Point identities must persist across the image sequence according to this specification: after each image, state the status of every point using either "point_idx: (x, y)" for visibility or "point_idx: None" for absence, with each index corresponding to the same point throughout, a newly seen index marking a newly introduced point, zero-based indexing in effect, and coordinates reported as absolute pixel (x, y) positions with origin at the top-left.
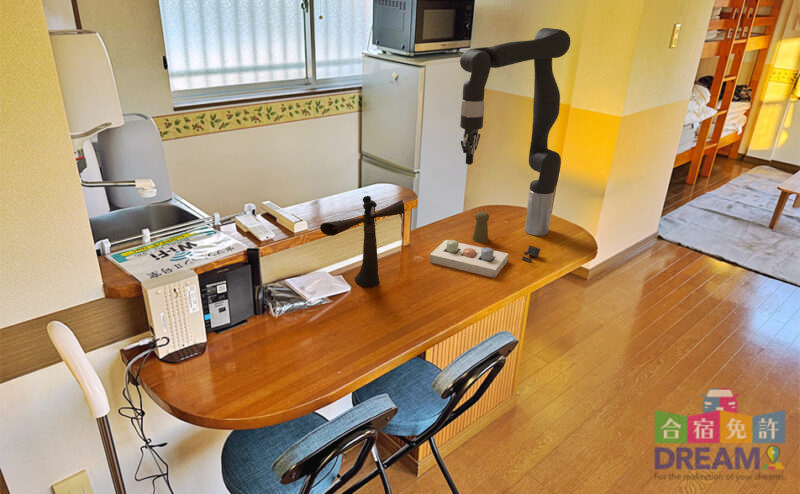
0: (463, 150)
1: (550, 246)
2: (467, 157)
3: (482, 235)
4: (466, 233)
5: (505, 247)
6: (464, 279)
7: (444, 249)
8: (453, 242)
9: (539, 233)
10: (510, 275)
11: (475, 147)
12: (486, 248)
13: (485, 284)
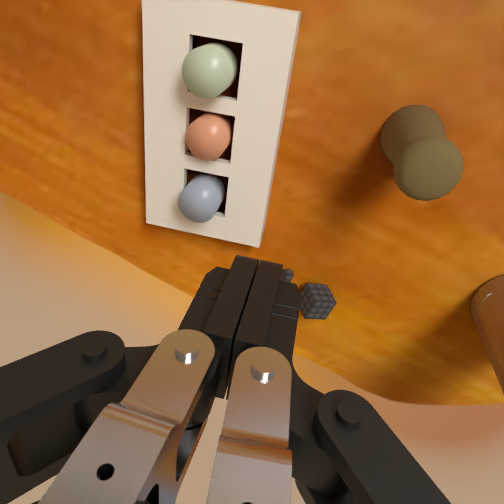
0: (21, 368)
1: (394, 330)
2: (187, 320)
3: (386, 154)
4: (464, 68)
5: (357, 223)
6: (108, 137)
7: (206, 36)
8: (206, 77)
9: (472, 314)
10: (186, 245)
11: (302, 490)
12: (207, 200)
13: (113, 194)
